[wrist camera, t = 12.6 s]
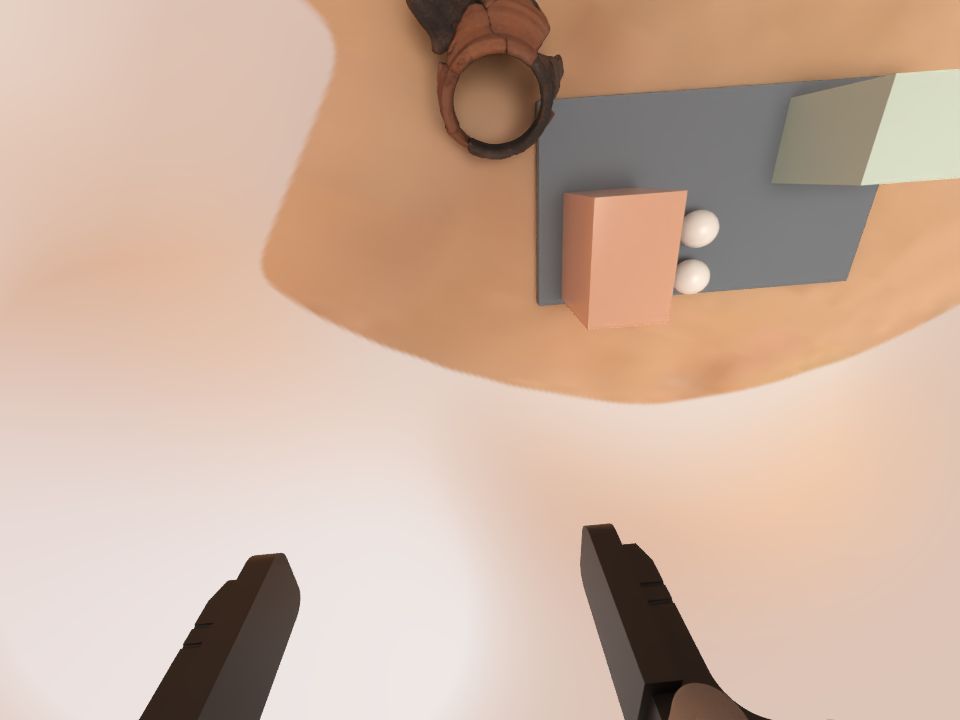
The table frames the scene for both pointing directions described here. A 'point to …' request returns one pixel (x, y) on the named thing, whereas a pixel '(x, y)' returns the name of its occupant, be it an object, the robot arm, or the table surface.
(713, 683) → the robot arm
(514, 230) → the table surface
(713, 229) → the marble
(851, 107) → the pale green cuboid
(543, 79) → the brown sculpted ring
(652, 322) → the upright salmon pillar
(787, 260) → the slate mat
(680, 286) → the marble
